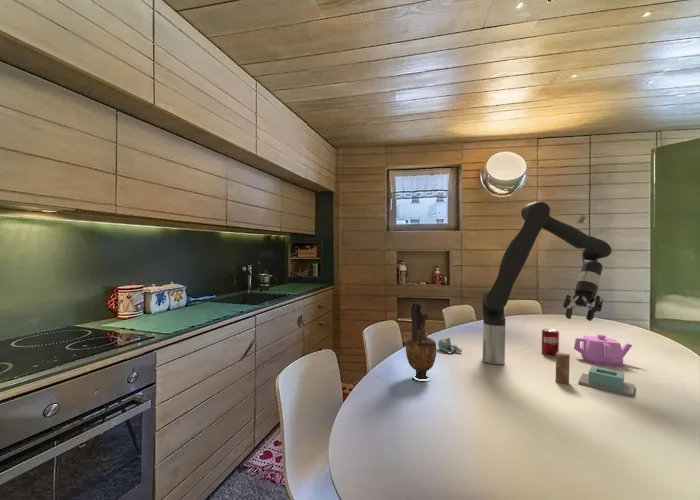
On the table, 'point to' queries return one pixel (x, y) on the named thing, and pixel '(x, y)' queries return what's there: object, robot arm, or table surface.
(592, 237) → the robot arm
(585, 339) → the teakettle
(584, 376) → the teal and grey socket
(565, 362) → the block
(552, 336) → the soda can
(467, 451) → the table surface
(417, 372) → the vase
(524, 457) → the table surface
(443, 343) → the stuffed animal
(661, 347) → the table surface
